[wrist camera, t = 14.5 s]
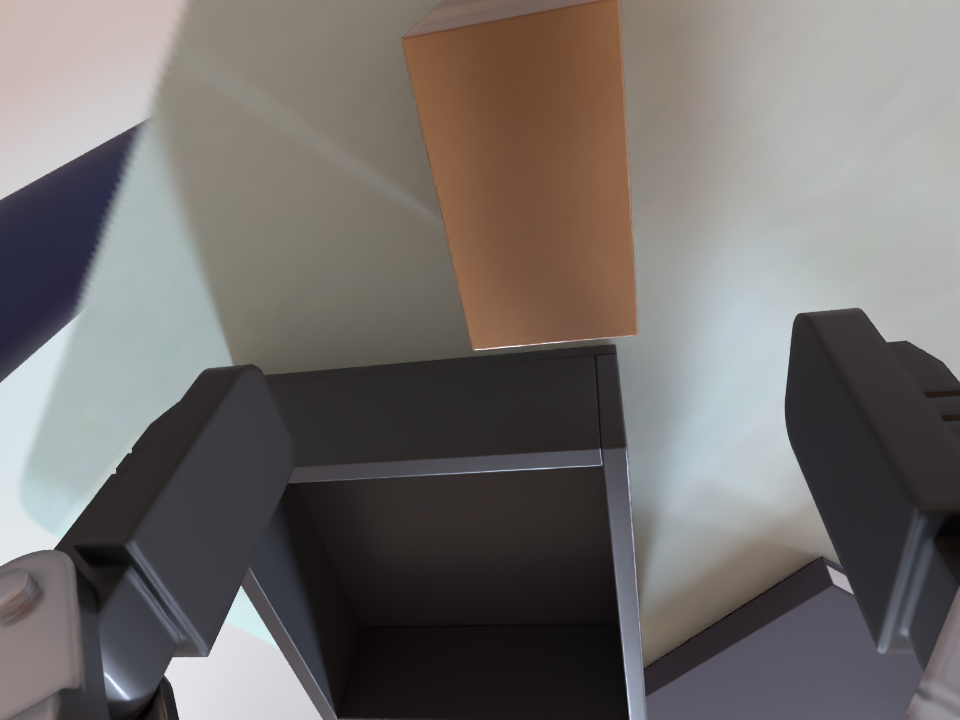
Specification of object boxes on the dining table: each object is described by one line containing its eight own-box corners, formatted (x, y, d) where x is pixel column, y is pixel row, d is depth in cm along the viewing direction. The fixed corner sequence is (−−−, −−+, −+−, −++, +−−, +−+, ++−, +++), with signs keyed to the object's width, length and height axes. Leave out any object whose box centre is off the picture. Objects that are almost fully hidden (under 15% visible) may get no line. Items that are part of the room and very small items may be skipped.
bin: (355, 625, 37) (326, 726, 33) (236, 377, 28) (172, 473, 23) (637, 621, 34) (648, 732, 30) (615, 343, 25) (627, 446, 20)
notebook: (822, 555, 30) (554, 725, 42) (833, 585, 29) (553, 752, 40) (1008, 658, 33) (709, 790, 45) (1026, 689, 32) (713, 817, 43)
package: (491, 254, 23) (472, 351, 18) (443, -1, 19) (400, 38, 14) (622, 238, 22) (639, 336, 17) (604, -34, 18) (619, -4, 13)
